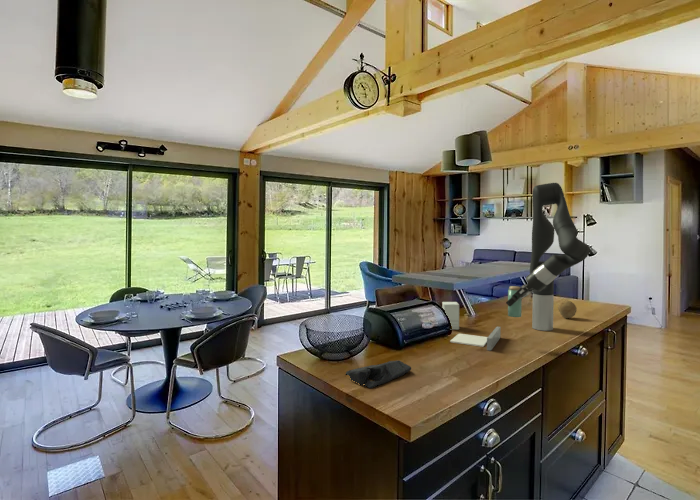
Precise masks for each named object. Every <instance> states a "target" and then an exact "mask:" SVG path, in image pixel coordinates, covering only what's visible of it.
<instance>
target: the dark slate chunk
mask: <svg viewBox="0 0 700 500" xmlns="http://www.w3.org/2000/svg"><path fill="white" fill-rule="evenodd" d="M411 371H412V367H411V366H410V365H408V364H406V363H404V361H402V360H389V361H387V362H384V363H383V362H382V363H380V364H379V363H378V364H371V365H367V366H363V367H362V366H361V367H358V368H354V369H349V370H348V371H346V372H345V373H346V374H347V375H349V376H350V378H351V380H353V381H355V382H357V383H359V384H361V385H360V386H362V385H363V384H365V386H367V387H366V388H369V389H374V388H375V387H378V386H382V385H384V384H386V383H389V382H390V381H392V380H395V379H398V378H400V377H402V376H404V375H405V374H407V373H409V372H411ZM346 374H345V375H346ZM368 378H370V379H368ZM351 380H350V381H351ZM373 380H374V381H373ZM377 385H378V386H377ZM365 386H364V387H365ZM373 387H374V388H373Z"/></svg>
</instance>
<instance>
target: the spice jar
mask: <svg viewBox="0 0 700 500" xmlns="http://www.w3.org/2000/svg"><path fill="white" fill-rule="evenodd" d="M520 288H521V286H515V285H509V287H508V288H507V289H508V290H507V301H508V300H509V299H511V298H512V295H514V294H515V293H516V291H518V290H519V289H520ZM516 297H517V298H518V296H517V295H516ZM522 305H523V304H522V298H520V299H519V300H518V301H516V302H515V303H514V304H512V305H511V306H508V305H507V316H508V317H511V318H512V317H513V318H521V317H522V307H523V306H522Z"/></svg>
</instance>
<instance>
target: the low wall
mask: <svg viewBox="0 0 700 500" xmlns="http://www.w3.org/2000/svg"><path fill="white" fill-rule="evenodd" d="M501 330H502V329H501V326H495V328H494V329H493V331H491V332H490V334H489V335H488V336H486V337H487V343H486V351H489V352H491V351H492V350H493V349H494V347H495V346H496V344H497V343H498V342H499V340H500V339H501Z"/></svg>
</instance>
